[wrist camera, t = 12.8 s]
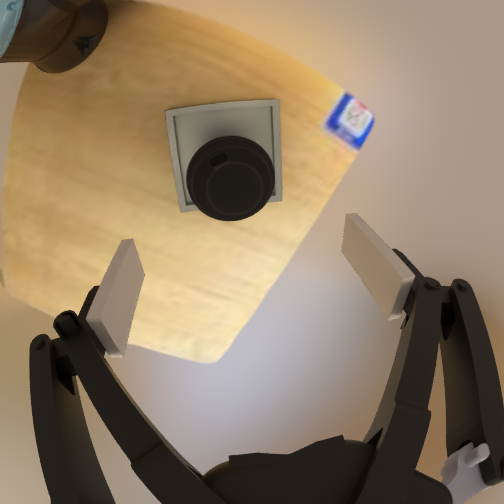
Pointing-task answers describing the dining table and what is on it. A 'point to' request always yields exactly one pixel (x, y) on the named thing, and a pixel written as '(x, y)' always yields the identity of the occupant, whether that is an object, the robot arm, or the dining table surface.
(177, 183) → the tray
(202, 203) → the coffee cup
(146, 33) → the dining table surface
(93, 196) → the dining table surface
